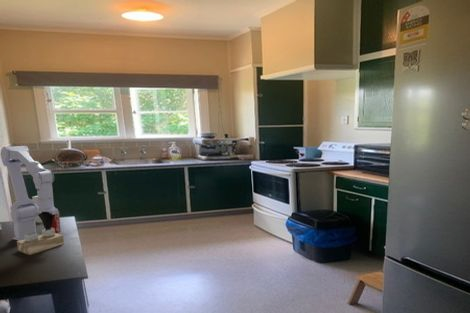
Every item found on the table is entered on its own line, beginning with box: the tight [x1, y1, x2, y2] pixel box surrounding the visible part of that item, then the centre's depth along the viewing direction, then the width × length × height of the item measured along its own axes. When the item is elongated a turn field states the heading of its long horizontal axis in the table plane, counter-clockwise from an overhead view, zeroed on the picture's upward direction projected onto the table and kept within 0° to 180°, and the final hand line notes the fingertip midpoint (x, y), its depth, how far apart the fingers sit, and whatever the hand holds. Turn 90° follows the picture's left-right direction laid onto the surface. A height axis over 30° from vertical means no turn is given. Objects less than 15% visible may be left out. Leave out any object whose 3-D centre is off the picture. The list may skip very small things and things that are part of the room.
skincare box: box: [31, 195, 43, 224], centre depth 177 cm, size 8×6×15 cm
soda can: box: [51, 210, 61, 234], centre depth 153 cm, size 5×5×12 cm
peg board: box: [16, 233, 65, 256], centre depth 135 cm, size 10×14×4 cm
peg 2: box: [41, 228, 55, 238], centre depth 137 cm, size 4×4×4 cm
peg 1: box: [24, 231, 39, 243], centre depth 131 cm, size 4×4×4 cm
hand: (48, 228), depth 137 cm, fingers closed
